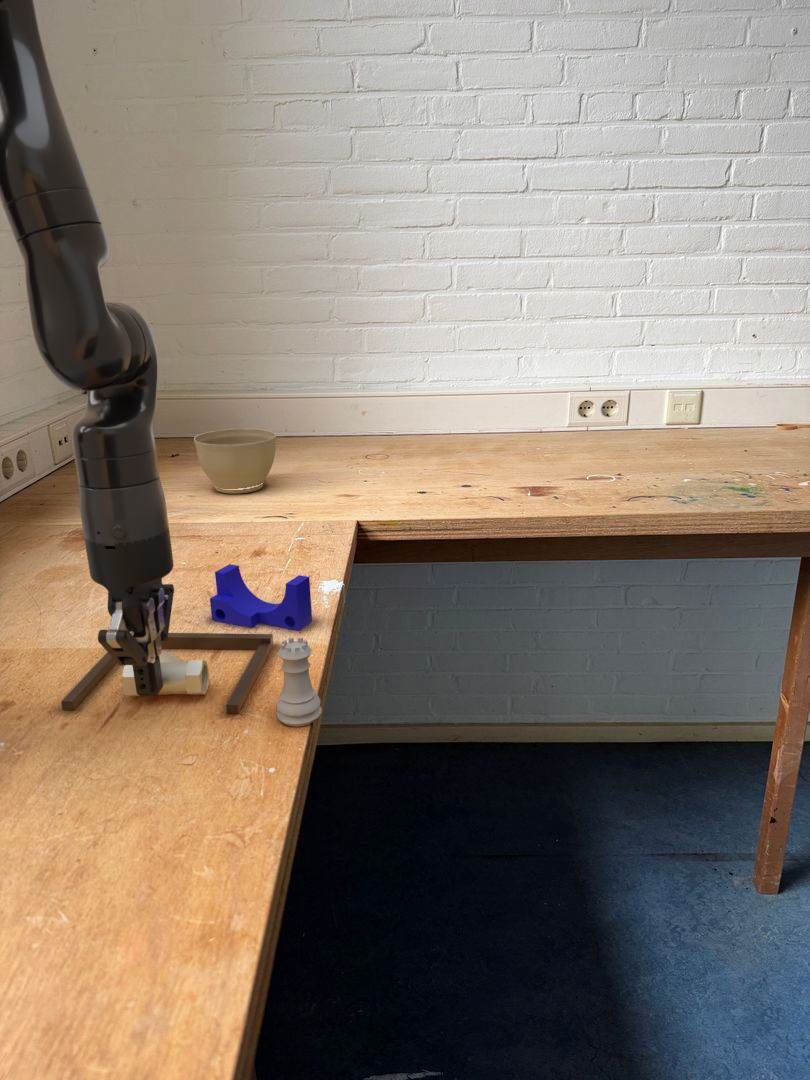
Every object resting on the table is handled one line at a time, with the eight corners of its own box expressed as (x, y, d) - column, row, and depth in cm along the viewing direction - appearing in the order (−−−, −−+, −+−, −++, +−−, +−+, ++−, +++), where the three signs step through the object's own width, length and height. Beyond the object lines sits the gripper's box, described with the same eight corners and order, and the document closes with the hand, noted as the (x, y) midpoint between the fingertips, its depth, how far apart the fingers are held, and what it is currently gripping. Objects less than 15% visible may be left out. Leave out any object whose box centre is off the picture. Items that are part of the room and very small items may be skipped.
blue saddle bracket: (212, 620, 101) (207, 576, 99) (233, 607, 105) (229, 564, 103) (292, 635, 96) (289, 589, 94) (312, 621, 100) (309, 576, 98)
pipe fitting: (144, 676, 88) (124, 703, 81) (141, 643, 87) (120, 668, 80) (217, 674, 88) (202, 701, 81) (214, 641, 87) (199, 666, 80)
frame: (62, 710, 81) (60, 696, 80) (123, 643, 95) (121, 631, 95) (238, 713, 79) (237, 700, 79) (273, 645, 94) (272, 633, 93)
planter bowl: (219, 504, 152) (213, 447, 148) (187, 487, 164) (181, 435, 161) (294, 489, 160) (290, 436, 157) (258, 474, 173) (254, 425, 169)
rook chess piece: (331, 712, 79) (327, 639, 77) (301, 733, 76) (296, 657, 73) (297, 700, 82) (292, 628, 79) (267, 719, 78) (260, 646, 76)
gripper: (118, 507, 81) (140, 661, 86) (51, 550, 68) (83, 727, 74) (190, 507, 80) (208, 662, 85) (136, 550, 67) (162, 729, 73)
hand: (150, 692), depth 79 cm, fingers closed
